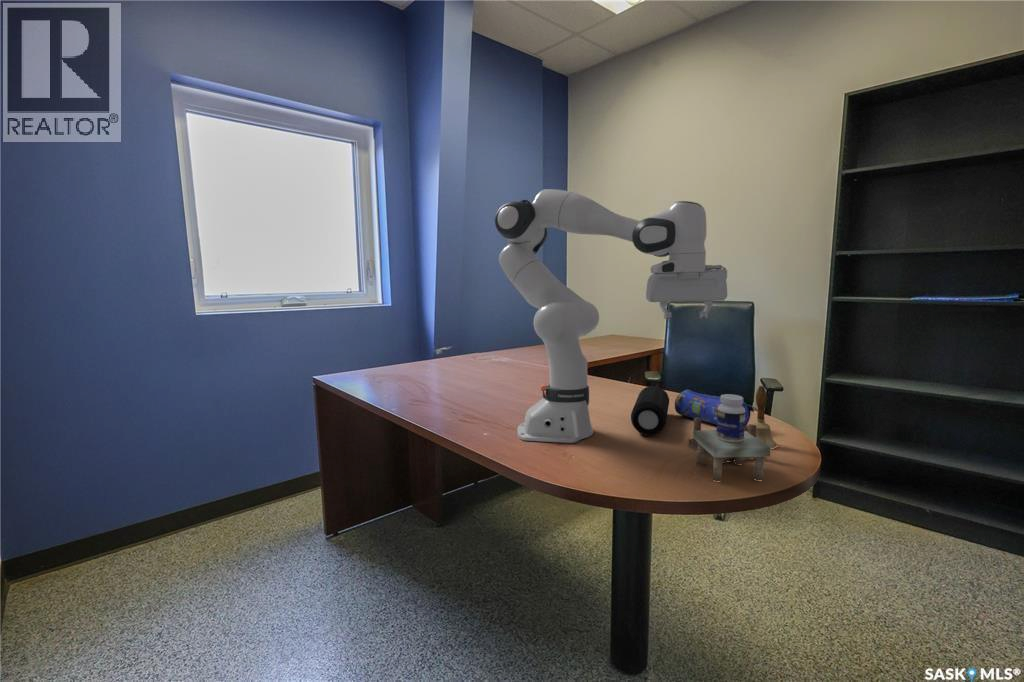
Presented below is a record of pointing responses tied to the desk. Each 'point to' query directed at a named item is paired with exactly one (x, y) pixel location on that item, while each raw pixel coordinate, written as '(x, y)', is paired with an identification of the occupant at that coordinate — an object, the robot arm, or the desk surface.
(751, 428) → the upturned stool
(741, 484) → the desk surface
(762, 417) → the hand bell
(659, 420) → the portable speaker
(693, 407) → the pencil case
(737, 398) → the pill bottle
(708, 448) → the small table
